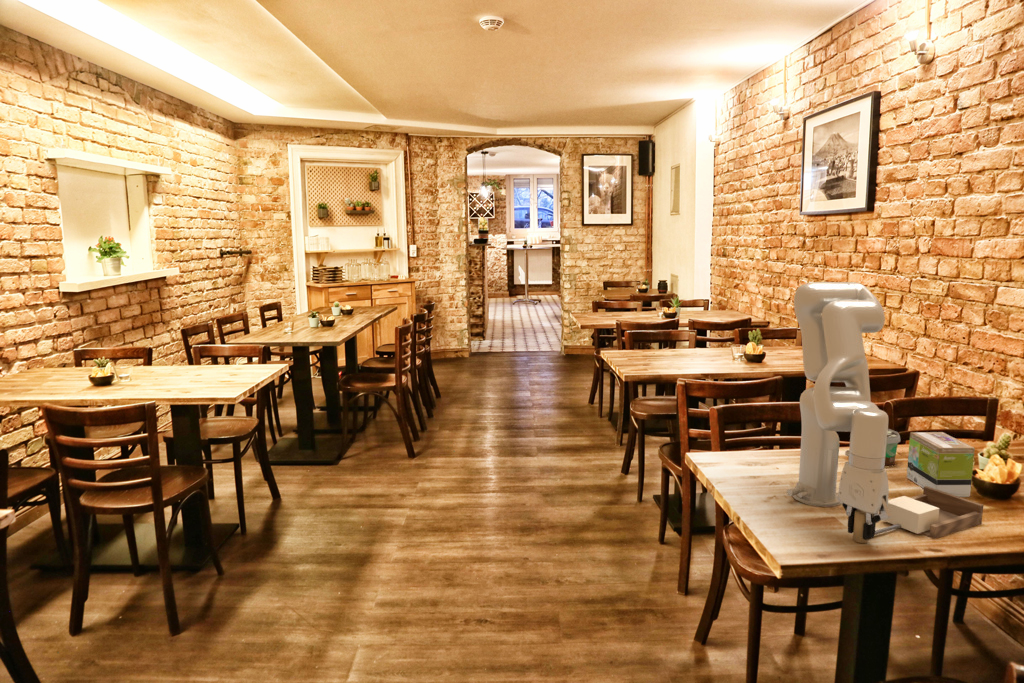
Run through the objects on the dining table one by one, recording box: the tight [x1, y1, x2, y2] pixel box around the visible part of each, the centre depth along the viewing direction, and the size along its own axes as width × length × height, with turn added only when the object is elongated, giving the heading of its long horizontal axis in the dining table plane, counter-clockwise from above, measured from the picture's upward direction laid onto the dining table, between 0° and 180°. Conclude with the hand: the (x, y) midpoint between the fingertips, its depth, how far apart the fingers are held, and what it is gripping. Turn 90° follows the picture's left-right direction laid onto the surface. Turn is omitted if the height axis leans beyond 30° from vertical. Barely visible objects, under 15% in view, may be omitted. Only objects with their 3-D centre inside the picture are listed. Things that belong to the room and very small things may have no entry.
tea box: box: [906, 431, 975, 498], centre depth 191 cm, size 15×10×15 cm
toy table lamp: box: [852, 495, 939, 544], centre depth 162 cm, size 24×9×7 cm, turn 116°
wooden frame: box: [878, 486, 984, 540], centre depth 169 cm, size 19×14×5 cm
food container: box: [885, 428, 901, 467], centre depth 212 cm, size 12×6×10 cm, turn 143°
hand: (860, 534), depth 158 cm, fingers closed on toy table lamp, 3 cm apart
